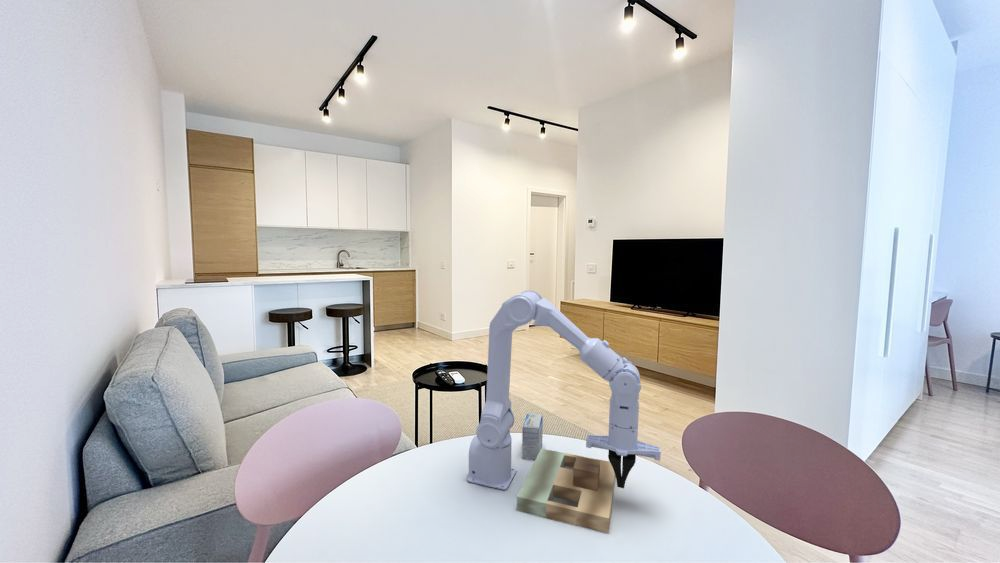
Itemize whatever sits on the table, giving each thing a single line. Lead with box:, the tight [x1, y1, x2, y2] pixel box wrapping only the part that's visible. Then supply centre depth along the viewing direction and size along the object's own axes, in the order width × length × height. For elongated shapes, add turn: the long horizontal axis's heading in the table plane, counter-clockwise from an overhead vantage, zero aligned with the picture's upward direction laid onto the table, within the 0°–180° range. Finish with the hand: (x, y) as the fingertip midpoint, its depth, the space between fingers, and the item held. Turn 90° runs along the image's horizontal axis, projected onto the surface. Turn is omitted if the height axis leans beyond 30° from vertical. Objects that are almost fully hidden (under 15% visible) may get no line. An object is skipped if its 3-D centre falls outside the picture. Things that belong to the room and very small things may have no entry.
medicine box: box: [521, 413, 544, 461], centre depth 101 cm, size 8×4×9 cm, turn 168°
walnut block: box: [573, 455, 601, 491], centre depth 84 cm, size 5×5×4 cm
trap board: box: [516, 448, 616, 534], centre depth 85 cm, size 18×20×3 cm
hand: (620, 485), depth 81 cm, fingers closed
